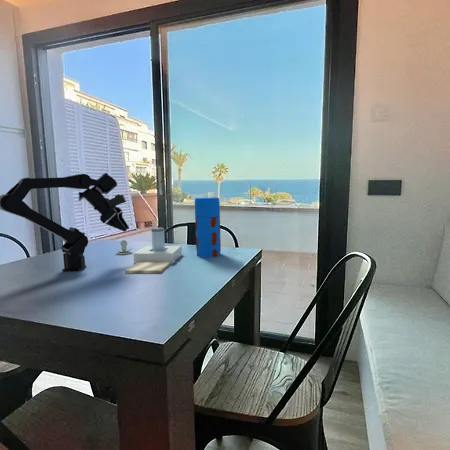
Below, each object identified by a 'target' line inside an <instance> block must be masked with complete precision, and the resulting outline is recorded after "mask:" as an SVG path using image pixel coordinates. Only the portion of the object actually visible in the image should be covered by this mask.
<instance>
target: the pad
mask: <svg viewBox="0 0 450 450" xmlns="http://www.w3.org/2000/svg"><path fill="white" fill-rule="evenodd" d="M171 265H172V263H171V262H137V263H133V265H131V266H130V267H128V268H127V269H126V270H125V274H162V273H163V272H165V270H166V269H168V267H169V266H171Z"/></svg>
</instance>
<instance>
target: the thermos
mask: <svg viewBox="0 0 450 450" xmlns="http://www.w3.org/2000/svg"><path fill="white" fill-rule="evenodd" d="M220 203H221V202H220V198H219V197H216V196H214V197H195V198H194V216H195V217H194V220H195V221H194V222H195V224H194V225H195V249H196V256H198V257H200V258H215V257H218V256H220V255H221V250H222V249H221V246H222V245H221V243H222V242H221V213H220V212H221V210H220V209H221V208H220V207H221V206H220Z"/></svg>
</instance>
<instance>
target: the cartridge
mask: <svg viewBox="0 0 450 450" xmlns="http://www.w3.org/2000/svg"><path fill="white" fill-rule="evenodd" d="M150 231H151V246H152V250H153V251H165V246H166V243H165V242H166V241H165V228H164V227H152V228H151V230H150Z"/></svg>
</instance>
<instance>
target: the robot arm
mask: <svg viewBox="0 0 450 450" xmlns="http://www.w3.org/2000/svg"><path fill="white" fill-rule="evenodd" d="M90 187H91V188H90ZM116 187H118V183H117V181H116V180H115V178H113V177H112V176H111V175H109V174H108V173H107V172H105V173H103V174H101V176H99V178H97V179H94V178H93V177H91V176H90V175H88V174H86V173H78V174H73V175H68V176H64V177H63V176H62V177H37V178H33V177H32V178H30V177H23V178H20V179H19V181H18V182H17V183H16V184H15V185H13V186H12V187H11V188H10V189H9V190H8V191H7V192H6V193H5V194H4V193H3V194H1V195H0V210H1V211H2V212H3V211H4V212H7V213H8V214H11V215H15V216H17V217H21V218H24V219H25V220H27V221H29V222H31V223H32V224H35V225H36V226H38V227H40V228H42V229H44V230H45V231H47V232H49V233H52V234H53V235H55V236H57V237H58V238H60V239H61V240H62V241H63V242H64V244H63V245H62V246H61V247H60V249H61V251H62V253H63V254H62V255H63V256H62V257H63V266H64V267H63V268H62V269H61V271H62V272H63V271H64V272H68V271H69V272H75V271H76V272H77V271H81V270H83V269H84V268H86V267H87V265H86V261H85V255H84V253H85V250H86V248H87V246H88V245H89V239H88V236H87V235H86V233H85V232H82V231H80V230H79V229H78V228H76V227H72V226H70V227H69V228H66V227H65V226H62V225H61V224H58V223H57V222H55V221H54V220H52V219H50V218H48V217H46V216H45V215H43V214H41V213H39V212H37V211H36V210H34V209H32V208H31V207H30V206H29V205H28V204H27V203H26V202H25V201H24V199H25V198H26V197H27V195H28V194H29V193H30V191H31V190H33V189H34V190H35V189H36V190H37V189H55V188H67V189H74V190H84V191H82V192H80V191H79V192H78V193H77V195H78V201H79V202H81V201H82V200H84V199H85V200H86V201H87V202H88V203H89V204H90V206H92V207H93V210H95V211H97V212H98V213H99V214H100V216H99V220H100V221H101V222H102V224H105V225H106V226H107V225H108V226H110V227H112V228H114V229H117V230H119V231H122V232H126V231H127V230H129V228H130V226H129V225H128V223H127V222H126V220H125V218H124V217H123V210H122V208H120V206H119V205H120V204H125V203H127V200H126V198H125V196H124V194H116V195H115V196H114V197H113V198H110V199H109V198H107V197H105V196H104V195H108V194H109V193H110V192H112V190H114V189H115V188H116Z"/></svg>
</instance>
